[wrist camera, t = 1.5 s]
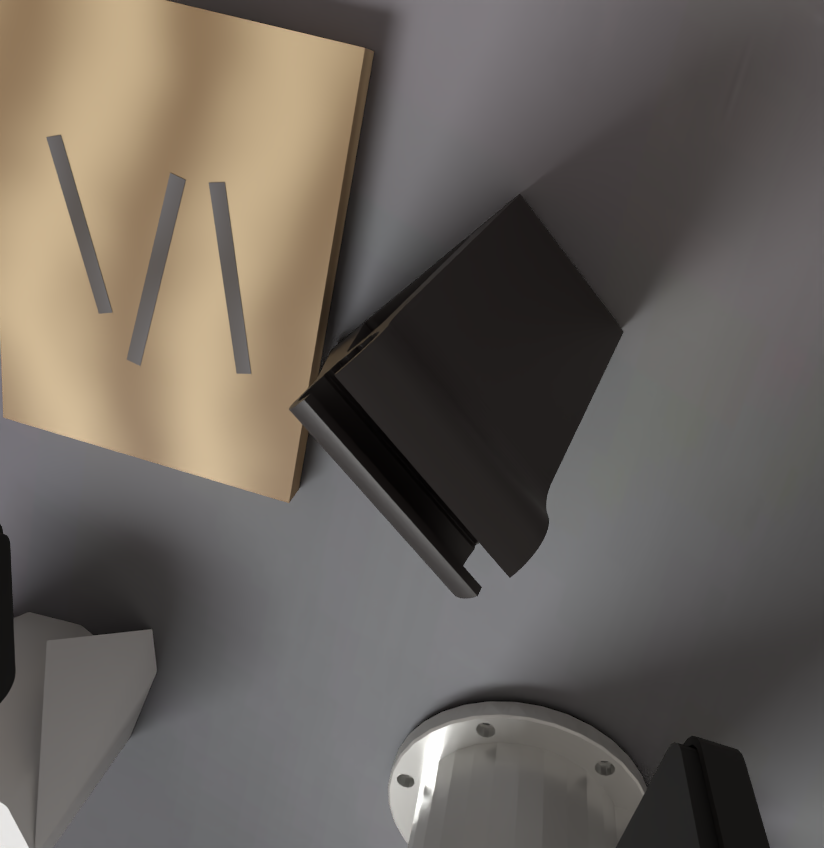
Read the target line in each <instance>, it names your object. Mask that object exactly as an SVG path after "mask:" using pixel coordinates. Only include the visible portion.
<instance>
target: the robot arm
mask: <svg viewBox="0 0 824 848" xmlns="http://www.w3.org/2000/svg"><path fill="white" fill-rule="evenodd" d="M15 674H16V667H15V644H14V621H13V598H12V575H11V553H10V541H9V538H8V536H7V535H5V534H3V530H2V526H1V525H0V703H1V702H2V701H3V700H4V698H5V697H6V696H7V694H8V693H9V691H10V689H11V687H12V685H13V683H14V679H15ZM388 798H389V806H390V810H391V813H392V816H393V820H394V822H395V824H396V826H397V827H398V829H399V831H400V833H401V835H402V837H403V838H404V839H405V840H406V842H407V843H408V848H770V847H769V843H768V840H767V836H766V833H765V829H764V826H763V822H762V819H761V815H760V812H759V809H758V805H757V802H756V798H755V795H754V791H753V788H752V784H751V781H750V777H749V774H748V771H747V767H746V764H745V761H744V758H743V756H742V754H741V753H740V752H739V751H738V750H737V749H734V748H731V747H728V746H724V745H721V744H718V743H715V742H712V741H708V740H705V739H702V738H699V737H695V736H691V737H689V738H688V739H687V740H686V742H685V743H684V745H681V744H678V743H673V744H671V746H670V747H669V749H668V750H667V752H666V754H665V756H664V758H663V760H662V762H661V764H660V765H659V767H658V769H657V771H656V773H655V775H654V777H653V778H652V780H651V782H650V784H649V786H648V788H647V787H646V784H645V782H644V779H643V777H642V775H641V773H640V772H639V770H638V769H637V767H636V766H635V764H634V763H633V761H632V760H631V758H630V757H629V756H628V755H627V754H626V753H625V752H624V751H623V750H622V749H621V748H620V747H619V746H618V745H617V744H616V743H615V742H614V741H613V740H611V739H610V738H608V737H607V736H605V735H604V734H603V733H601V732H600V731H598V730H597V729H595V728H594V727H592V726H591V725H589V724H587V723H585V722H582V721H580V720H578V719H576V718H574V717H572V716H570V715H568V714H565V713H562V712H559V711H555V710H552V709H549V708H546V707H543V706H537V705H531V704H525V703H519V702H494V701H489V702H481V703H474V704H466V705H462V706H459V707H456V708H453V709H449V710H446V711H443V712H441V713H439V714H437V715H435V716H433V717H432V718H430V719H428V720H426V721H424V722H423V723H422V724H421V725H419V726H418V727H417V728H416V729H415V730H413V731H412V732H411V733H410V734H409V735H408V737H407V738H406V739H405V741H404V742H403V743H402V745H401V746H400V748H399V749H398V752H397V755H396V757H395V760H394V763H393V766H392V771H391V775H390V780H389V784H388Z"/></svg>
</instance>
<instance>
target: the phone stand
mask: <svg viewBox="0 0 824 848" xmlns="http://www.w3.org/2000/svg"><path fill="white" fill-rule="evenodd" d="M622 334H623V330H622V329H621V327H620V326H619V325H618V323H617V322H616V321H615V320H614V318H613V317H612V316H611V314H610V313H609V312H608V310H607V309H606V308H605V306H604V305H603V304H602V302H601V301H600V300H599V298H598V297H597V296H596V294H595V293H594V292H593V290H592V289H591V288H590V286H589V285H588V284H587V282H586V281H585V280H584V278H583V277H582V276H581V274H580V273H579V272H578V270H577V269H576V268H575V266H574V265H573V264H572V262H571V261H570V260H569V258H568V257H567V256H566V254H565V253H564V252H563V250H562V249H561V248H560V246H559V245H558V244H557V242H556V241H555V240H554V238H553V237H552V236H551V234H550V233H549V232H548V230H547V229H546V228H545V226H544V225H543V224H542V222H541V221H540V220H539V218H538V217H537V216H536V214H535V213H534V212H533V210H532V209H531V208H530V206H529V205H528V204H527V203H526V201H525V200H524V199H523V197H522V196H521V195H520V194H519V195H518V196H517V197H515V198H514V199H513V200H512V201H510V202H509V203H508V204H507V205H506V206H504V207H503V208H502V209H501V210H500V211H498V212H497V213H496V214H495V215H493V216H492V217H491V218H490V219H489V220H487V221H486V222H485V223H484V224H483V225H481V226H480V227H479V228H478V229H477V230H475V231H474V232H473V233H472V234H471V235H469V236H468V237H467V238H466V239H464V240H463V241H462V242H461V243H460V244H458V245H457V246H456V247H455V248H454V249H452V250H451V251H450V252H449V253H448V254H446V255H445V256H444V257H443V258H441V259H440V260H439V261H438V262H437V263H435V264H434V265H433V266H432V267H431V268H429V269H428V270H427V271H426V272H425V273H424V274H422V275H421V276H420V277H419V278H417V279H416V280H415V281H414V282H412V283H411V284H410V285H409V286H408V287H406V288H405V289H404V290H403V291H402V292H400V293H399V294H398V295H397V296H396V297H394V298H393V299H392V300H391V301H389V302H388V303H387V304H386V305H385V306H383V307H382V308H381V309H380V310H379V311H377V312H376V313H375V314H374V315H373V316H371V317H370V318H369V319H368V320H367V321H365V322H364V323H363V324H362V325H360V326H359V327H358V328H357V329H356V330H354V331H353V332H352V333H351V334H350V335H348V336H347V337H346V338H345V339H344V340H342V341H341V342H340V343H339V344H338V345H336V346H335V347H334V348H333V349H332V350H331V352H330V354H329V356H328V358H327V360H326V362H325V364H324V366H323V368H322V370H321V372H320V374H319V376H318V378H317V379H316V380H315V381H314V382H313V383H312V385H311V386H310V387H309V388H308V389H307V390H306V391H305V392H304V393H303V394H302V395H301V396H300V397H299V398H298V399H297V400H296V401H295V402H294V403H293V404H292V405H291V406H290V407H289V410H290V411H291V412H292V414H293V415H294V416H295V417H296V418H297V419H298V420H299V421H300V423H301V424H302V425H303V426H304V427H305V428H306V429H307V430H308V431H309V433H310V434H311V435H312V436H313V437H314V438H315V439H316V440H317V442H318V443H319V444H320V445H321V446H322V447H323V448H324V449H325V451H326V452H327V453H328V454H329V455H330V456H331V457H332V458H333V460H334V461H335V462H336V463H337V464H338V465H339V466H340V467H341V468H342V470H343V471H344V472H345V473H346V474H347V475H348V476H349V477H350V479H351V480H352V481H353V482H354V483H355V484H356V485H357V486H358V488H359V489H360V490H361V491H362V492H363V493H364V494H365V495H366V497H367V498H368V499H369V500H370V501H371V502H372V503H373V504H374V506H375V507H376V508H377V509H378V510H379V511H380V512H381V513H382V514H383V516H384V517H385V518H386V519H387V520H388V521H389V522H390V523H391V525H392V526H393V527H394V528H395V529H396V530H397V531H398V532H399V534H400V535H401V536H402V537H403V538H404V539H405V540H406V541H407V543H408V544H409V545H410V546H411V547H412V548H413V549H414V550H415V551H416V553H417V554H418V555H419V556H420V557H421V558H422V559H423V560H424V562H425V563H426V564H427V565H428V566H429V567H430V568H431V569H432V571H433V572H434V573H435V574H436V575H437V576H438V577H439V578H440V580H441V581H442V582H443V583H444V584H445V585H446V586H447V587H448V588H449V590H450V591H451V592H452V593H453V594H454V595H455V596H456V597H459V598H472V597H476V596H478V594H479V592H480V590H481V588H482V587H481V586H480V585H479V584H478V583H477V581H476V580H475V579H474V578H473V577H472V576H471V575H470V573H469V572H468V571H467V570H466V569H465V568H464V567H463V565H464V563H465V562H466V560H467V558H468V557H469V555H470V554H471V553H472V552H473V550H474V548H475V545H477V544H479V543H480V544H481V545H482V546H483V547H484V549H485V550H486V551H487V552H488V553H489V554H490V556H491V557H492V558H493V559H494V560H495V561H496V562H497V564H498V565H499V566H500V567H501V568H502V569H503V571H504V572H505V573H506V574H507V575H508V576H509V577H511V576H513V575H514V574H515V573H516V572H517V571H518V570H520V569H521V568H522V567H523V566H524V565H525V564H526V563H527V561H528V560H529V559H530V558H531V557H532V556H533V554H534V553H535V552H536V550H537V549H538V548H539V546H540V545H541V543H542V541H543V539H544V537H545V535H546V533H547V530H548V526H549V518H548V514H547V511H546V499H547V494H548V491H549V488H550V485H551V483H552V481H553V478H554V476H555V474H556V472H557V470H558V468H559V466H560V464H561V462H562V460H563V457H564V455H565V453H566V451H567V449H568V447H569V445H570V443H571V441H572V439H573V437H574V434H575V432H576V430H577V428H578V426H579V424H580V422H581V420H582V418H583V416H584V413H585V411H586V409H587V407H588V405H589V403H590V401H591V399H592V397H593V395H594V392H595V390H596V388H597V386H598V384H599V382H600V380H601V378H602V376H603V374H604V372H605V369H606V367H607V365H608V363H609V361H610V359H611V357H612V355H613V353H614V351H615V348H616V346H617V344H618V342H619V340H620V338H621V336H622Z"/></svg>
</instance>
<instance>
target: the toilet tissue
mask: <svg viewBox="0 0 824 848" xmlns="http://www.w3.org/2000/svg"><path fill="white" fill-rule="evenodd" d="M13 621H14V644H15V667H16V674H15V679H14V683H13V685H12V687H11V689H10V691H9V693H8V694H7V696H6V697H5V698H4V700H3V701H2V702H1V703H0V848H53V847H54V846H55V844H56V843H57V841H58V840H59V838H60V837H61V836H62V834H63V833H64V831H65V830H66V828H67V827H68V826H69V824H70V823H71V821H72V820H73V818H74V817H75V816H76V814H77V813H78V811H79V810H80V808H81V807H82V806H83V804H84V803H85V801H86V800H87V798H88V797H89V796H90V794H91V793H92V791H93V790H94V788H95V787H96V786H97V784H98V783H99V781H100V780H101V778H102V777H103V776H104V774H105V773H106V771H107V770H108V768H109V767H110V766H111V764H112V763H113V761H114V760H115V758H116V757H117V756H118V754H119V753H120V751H121V750H122V748H123V747H124V746H125V744H126V743H127V741H128V740H129V738H130V736H131V733H132V731H133V728H134V726H135V724H136V721H137V719H138V716H139V714H140V712H141V709H142V707H143V704H144V702H145V699H146V697H147V695H148V692H149V690H150V687H151V685H152V682H153V680H154V678H155V675H156V673H157V666H156V657H155V649H154V640H153V632H152V629H149V630H140V631H131V632H122V633H113V634H103V635H92V634H91V633H90V632H89V631H88V630H86V629H85V628H84V627H83V626H82V625H79V624H75V623H71V622H67V621H63V620H59V619H55V618H51V617H47V616H43V615H39V614H35V613H31V612H27V613H25V614H23V615H20V616H18V617H15V618H13Z"/></svg>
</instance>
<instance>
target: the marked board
mask: <svg viewBox="0 0 824 848" xmlns="http://www.w3.org/2000/svg"><path fill="white" fill-rule="evenodd" d="M373 56H374V51H372V50H369V49H366V48H363V47H359V46H355V45H351V44H346V43H342V42H338V41H334V40H330V39H325V38H321V37H317V36H313V35H309V34H305V33H300V32H296V31H292V30H288V29H284V28H279V27H275V26H271V25H267V24H263V23H258V22H254V21H250V20H246V19H242V18H238V17H233V16H229V15H225V14H221V13H217V12H212V11H208V10H204V9H200V8H196V7H192V6H187V5H183V4H179V3H175V2H171V1H166V0H0V341H1V368H2V394H3V418H7V419H10V420H13V421H17V422H20V423H23V424H27V425H30V426H33V427H37V428H40V429H44V430H47V431H50V432H54V433H57V434H60V435H64V436H67V437H70V438H74V439H77V440H80V441H84V442H87V443H90V444H94V445H97V446H100V447H104V448H107V449H110V450H114V451H117V452H120V453H124V454H127V455H130V456H134V457H137V458H140V459H144V460H147V461H150V462H154V463H157V464H160V465H164V466H167V467H170V468H174V469H177V470H180V471H184V472H187V473H190V474H194V475H197V476H200V477H204V478H207V479H210V480H214V481H217V482H221V483H224V484H227V485H231V486H234V487H237V488H241V489H244V490H247V491H251V492H254V493H257V494H261V495H264V496H267V497H271V498H274V499H277V500H281V501H284V502H287V503H289V502H290V501H291V499H292V498H293V497H294V495H295V494H296V492H297V491H298V490H299V485H300V479H301V473H302V467H303V462H304V456H305V450H306V444H307V438H308V433H309V431H308V430H307V429H306V428H305V427H304V426H303V425H302V424H301V423H300V421H299V420H298V419H297V418H296V417H295V416H294V415H293V414H292V412H291V411H290V410H289V407H290V406H291V405H292V404H293V403H294V402H295V401H296V400H297V399H298V398H299V397H300V396H301V395H302V394H303V393H304V392H305V391H306V390H307V389H308V388H309V387H310V386H311V385H312V383H313V382H314V381H315V380H316V379H317V378H318V375H319V369H320V363H321V357H322V351H323V346H324V340H325V334H326V328H327V322H328V317H329V311H330V305H331V299H332V293H333V288H334V282H335V276H336V270H337V264H338V259H339V253H340V247H341V241H342V235H343V230H344V224H345V218H346V212H347V206H348V201H349V195H350V189H351V183H352V177H353V172H354V166H355V160H356V154H357V148H358V143H359V137H360V131H361V125H362V119H363V114H364V108H365V102H366V96H367V90H368V85H369V79H370V73H371V67H372V61H373Z"/></svg>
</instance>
